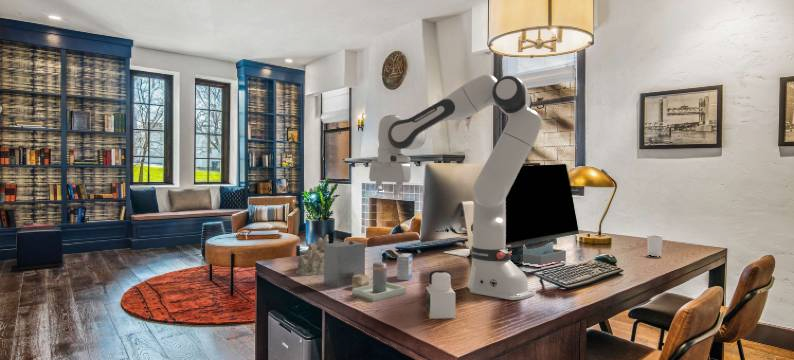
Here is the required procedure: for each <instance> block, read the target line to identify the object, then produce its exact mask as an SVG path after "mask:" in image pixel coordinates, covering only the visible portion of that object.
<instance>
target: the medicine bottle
mask: <svg viewBox="0 0 794 360" xmlns="http://www.w3.org/2000/svg"><path fill="white" fill-rule="evenodd" d="M428 283H429V285H428V286H425V313H426V315H427V317H428V319H430V320H434V319H435V320H438V319H442V320H443V319H455V318H456V292H455V291H454V289H453V288H452V273H450V272H449V271H447V270H433V271H430V273H429V282H428Z"/></svg>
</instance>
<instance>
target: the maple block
mask: <svg viewBox="0 0 794 360" xmlns="http://www.w3.org/2000/svg"><path fill="white" fill-rule="evenodd" d="M368 285H370V275H367V274H365V275H362V274H359V275H355V276H353V285H351V286H352V287H351V288H352V289H354V288H358V287H363V286H368Z"/></svg>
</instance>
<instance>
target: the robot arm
mask: <svg viewBox="0 0 794 360" xmlns="http://www.w3.org/2000/svg"><path fill="white" fill-rule="evenodd" d="M532 102H533V101H532V97H531V95H530V92H529V89H528V87H527V86H526V85H525V84H524V82H523V81H522V80H521V79H520V78H518V77H516V76H514V75H505V76H503V77H501V78H499V79H497V78H496V77H495V76H494V75H492V74H490V73H485V74H481V75H479V76H477V77H475V78H473V79H471V80H469V81H468V82H466V83H464V84H463V85H461V86H459V87H457V89H455V90H454V91H452V92H451V93H449V94H448V95H447V96H445V97H443V98H442V99H441V100H439V101H437V102H436V103H434V104H432V105H431V106H428V107H427V108H425V109H424V110H422V111H420V112H418V113H417V114H415V115H413V116H411V117H409V118H405V119H403V118H402V117H401V116H399V115H396V114H390V115H386V116H383V117H382V118H381V119H380V121H379V124H378V130H377V131H378V133H377V134H378V136H377V140H378V148H377V158H373V159H372V161H371V164H370V167H369V173H368V179H369V182H375V187H376V188H377V194H384V191H385V189H384V188H383V186H382V184H383V182H384V183H395V186H396V187H395V189H394V191H393V194H394V195H399V196H400V194H401V189H402V188H403V186H404V185H403V183H409V182H410V181H411V178H412V177H411V176H412V174H411V173H412V171H411V165H410V163H411V157H410V156H408V155H406V154H404V153H402V152H401V151H402V149H403V150H404V149H406V150H417V149H420V148H422V147H423V145H424V144H425V142H426V131H427V130H428V129H430V128H432V127H433V126H435V125H437V124H439V123H442V122H445V121H446V122H447V121H463V120H465V119H468V118H470V117H472V116H474V115H476V114H478V113H479V112H480V111H482V110H484V109H485V108H487V107H489V106H496V108H497V109H499V111H500V112H502V113H503V114H504V115H505V116H507V118H508V119H507V122H506V125H505V127H504V129H503V130H502V133H501V134H500V136H499V138H498V140H497V141H496V144H495V146H494V148H492V149H493V150H492V151H491V153H490V155H489V156H488V158H487V160H486V162H485V163H484V165H483V167H482V169H481V170H480V173H479V175H478V176H477V179H476V180H475V182H474V184H473V187H472V196H473V220H472V246H471V248H470V249H471V250H470V251H471V254H470V255H471V270H470V277H469V280H468V283H467V286H466V287H467V289H469V293H470V294H471V293H472V294H476V295H482V296H487V297H494V298H498V299H505V300H510V301H517V300H518V301H519V300H523V299H524V300H525V299H527V298H531V297H533V296H534V295H535V294H536V292H535V289H532V288H529V286H528V278H527V276H526V273H525V272H523V270H522V269H520V268H519V267H518V266H517V264H514V263H513V262H512V261H511V255H512V254H511V253H512V251H511V250H510V251H508V249H507V247H506V243H507V242H506V239H507V238H506V237H507V234H506V233H507V228H506V227H507V223H506V222H507V214H506V213H507V209H506V207H507V205H506V203H507V201H506V200H507V199H506V198H507V196H508V195H509V193H510V191H511V188H512V186H513V185H514V183H515V180H516V179H517V176H518V174H519V173H520V170H522V169H521V168H522V167H523V165H524V163H525V161H526V159H527V157H528V155H529V154H530V152H531V150H532V149H533V146H534V145H535V143H536V140H537V138H538V136H539V132H540V130H541V127H542V124H543V120H542V117H541V116H540V114H539V113H538V112H537V111H536V110H534V109H532V106H533V105H532Z"/></svg>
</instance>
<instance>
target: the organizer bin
mask: <svg viewBox="0 0 794 360" xmlns="http://www.w3.org/2000/svg"><path fill="white" fill-rule="evenodd" d="M566 255H567V250H563V249H558V248H557V249H556V248H553V253H551V254H547V255H542V256H537V255H530V254H524V253H523V262H524V263H530V264H538V265H543V264H548V263H552V262H561V261H567V258H566V257H567V256H566Z"/></svg>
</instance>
